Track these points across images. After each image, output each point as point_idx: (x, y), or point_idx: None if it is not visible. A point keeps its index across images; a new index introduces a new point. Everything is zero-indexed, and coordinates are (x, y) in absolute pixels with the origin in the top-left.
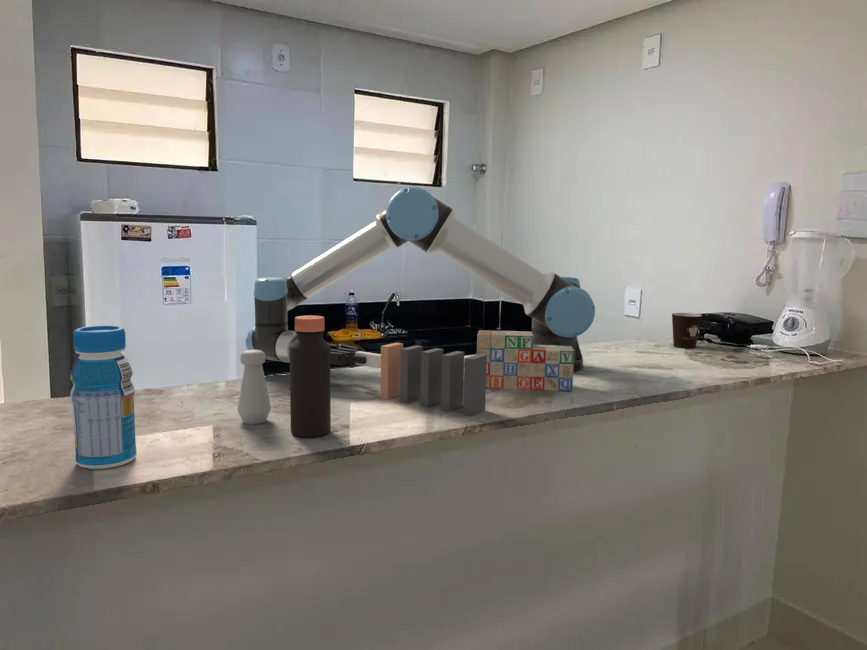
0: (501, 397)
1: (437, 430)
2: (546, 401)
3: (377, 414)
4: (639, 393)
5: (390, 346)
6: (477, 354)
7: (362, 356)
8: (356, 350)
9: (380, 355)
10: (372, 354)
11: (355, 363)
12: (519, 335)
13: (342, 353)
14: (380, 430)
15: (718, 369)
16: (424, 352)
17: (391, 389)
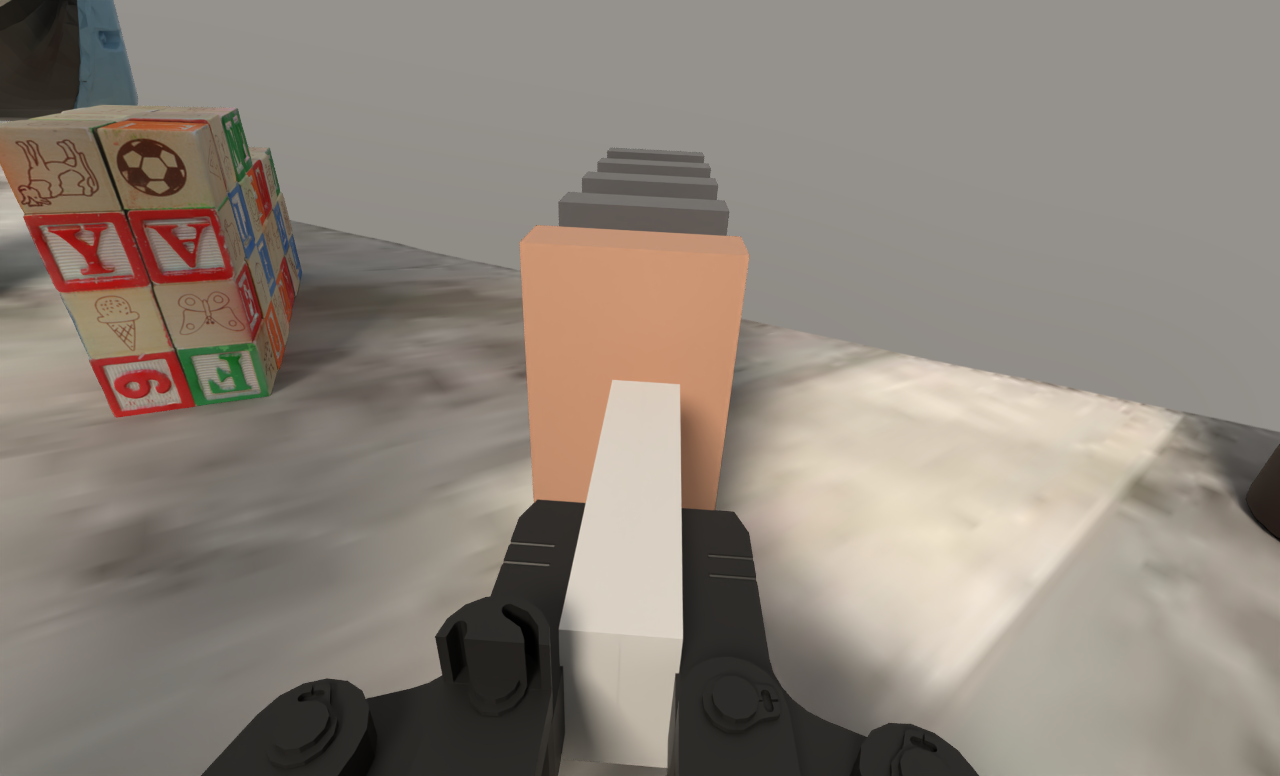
0: (430, 332)
1: (859, 345)
2: (437, 284)
3: (926, 484)
4: (296, 231)
5: (706, 235)
6: (618, 151)
7: (691, 543)
8: (449, 769)
9: (652, 382)
10: (666, 429)
11: (666, 751)
12: (226, 111)
13: (949, 768)
14: (1020, 414)
15: (7, 194)
16: (716, 182)
17: None
